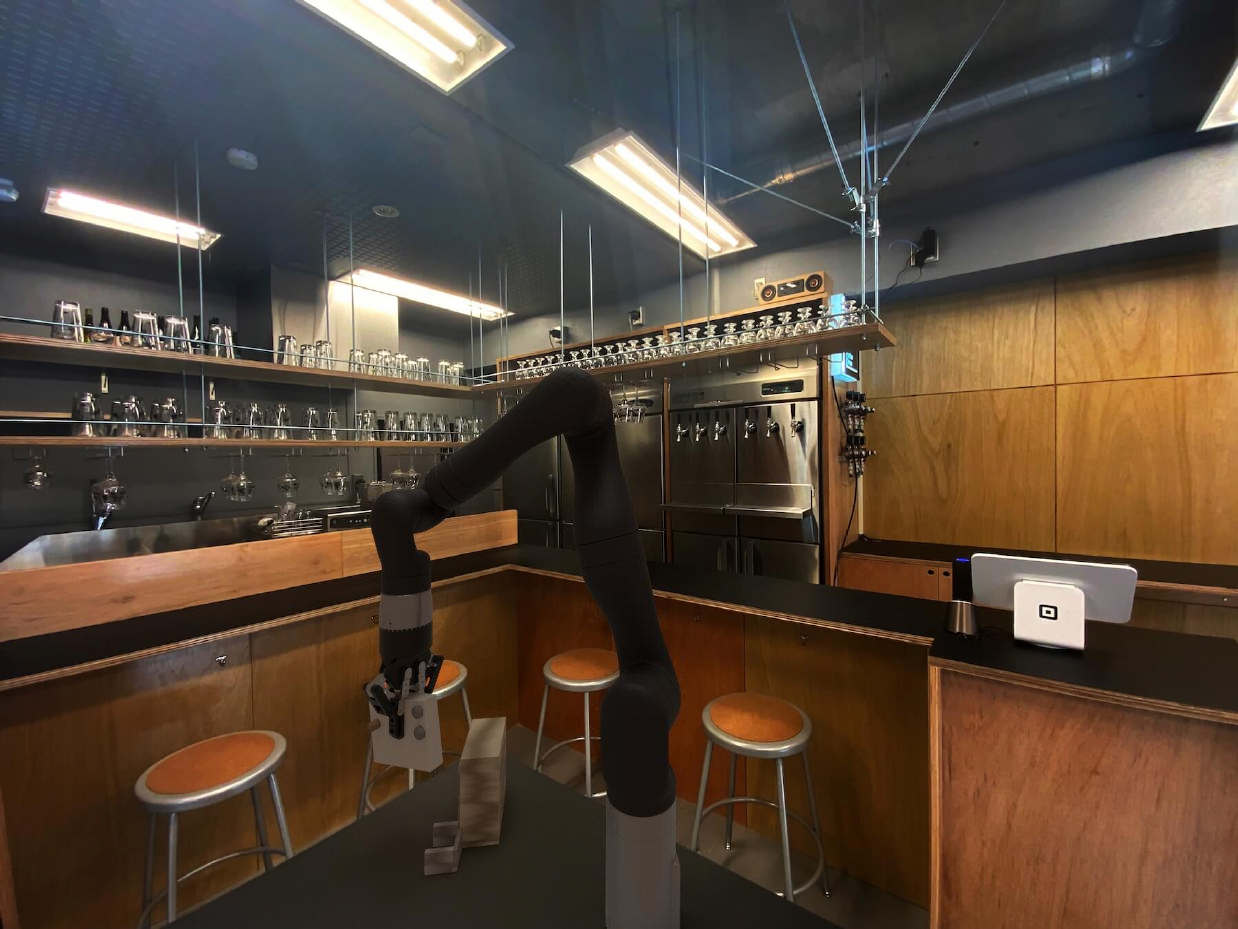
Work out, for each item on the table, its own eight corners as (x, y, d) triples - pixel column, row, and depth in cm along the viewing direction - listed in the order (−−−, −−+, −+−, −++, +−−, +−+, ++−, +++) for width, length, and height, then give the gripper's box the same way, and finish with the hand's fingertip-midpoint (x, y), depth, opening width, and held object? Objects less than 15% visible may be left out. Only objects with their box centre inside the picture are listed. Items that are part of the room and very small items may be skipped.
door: (443, 762, 70) (436, 694, 71) (423, 777, 67) (416, 705, 68) (387, 754, 75) (382, 690, 76) (367, 766, 72) (361, 699, 73)
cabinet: (505, 792, 87) (506, 717, 87) (495, 867, 71) (496, 774, 71) (448, 798, 86) (448, 721, 86) (424, 875, 69) (425, 780, 70)
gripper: (383, 637, 64) (383, 765, 64) (458, 610, 77) (457, 716, 77) (347, 629, 68) (346, 751, 67) (424, 604, 80) (424, 706, 80)
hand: (405, 732), depth 72 cm, fingers closed on door, 2 cm apart
